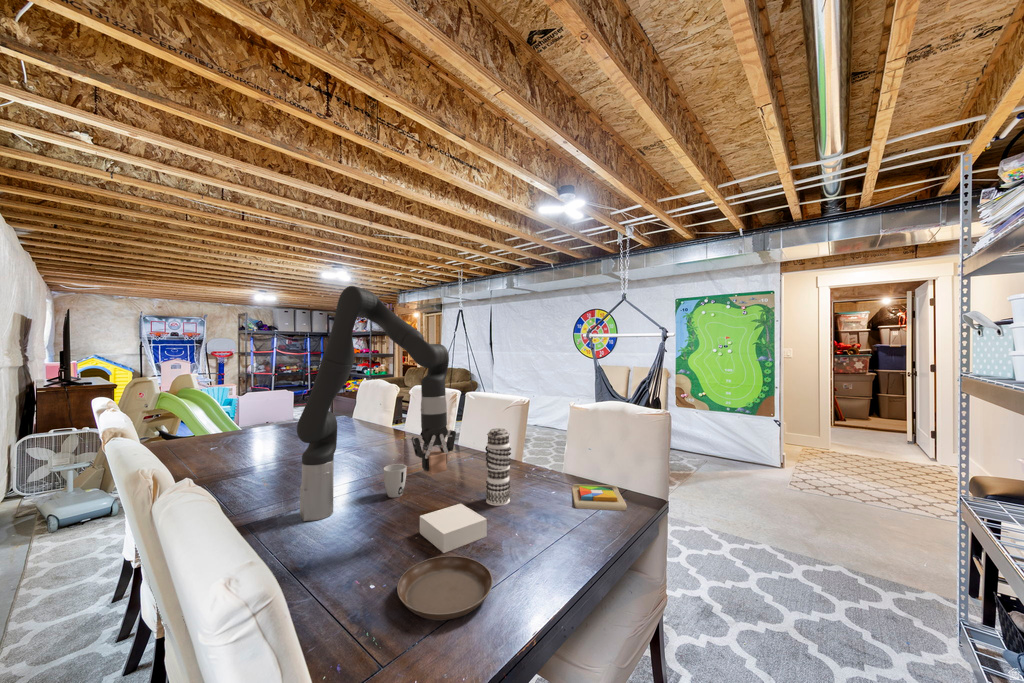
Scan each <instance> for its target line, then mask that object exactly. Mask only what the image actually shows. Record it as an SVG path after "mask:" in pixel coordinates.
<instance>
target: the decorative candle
mask: <svg viewBox="0 0 1024 683" xmlns="http://www.w3.org/2000/svg"><path fill="white" fill-rule="evenodd" d="M486 435H487V442H486V446H485V451H486V452H485V456H486V457H485V462H486V463H485V465H486V470H487V476H486V481H485V483H486V485H485V487H486V489H485V493H486V494H485V498H486V499H485V500H486V503H487V504H488V505H491V506H497V507H498V506H501V507H502V506H505V505H507V504H509V503H510V502H511V500H510V497H511V494H510V493H511V490H510V487H511V484H510V483H511V480H510V474H509V472H510V471H509V470H510V469H511V462H510V461H511V457H510V456H511V455H512V452H510V451H511V450H512V448H511V447H510V433H509V432H508V431H507V430H506V429H505V428H491V429H490V430H489V431H488V433H486Z"/></svg>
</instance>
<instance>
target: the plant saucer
mask: <svg viewBox="0 0 1024 683" xmlns="http://www.w3.org/2000/svg"><path fill="white" fill-rule="evenodd" d="M493 583H494V581H493V576H492V573H491V571H490V570H489V568H488V566H486V565H484V564H483V563H481V562H480V561H478V560H475V559H473V558H471V557H466V556H459V555H444V556H442V555H441V556H437V557H432V558H427V559H426V560H423V561H420V562H418V563H416V564H415V565H412V566H410V568H408V569H407V570H406V571H405V572H404V573H403V574H402V575H401V576H400V579H399V580H398V583H397V587H396V588H397V589H396V590H397V596H398V598H399V599H400V601H401V602H402V604H403V605H404V606H405V607H406V608H407V609H408V610H409V611H410V612H411V613H413V614H415V615H417V616H419V617H420V618H422V619H423V618H424V619H427V620H433V621H448V620H453V619H458V618H461V617H463V616H466V615H467V614H469V613H470V612H472V611H474V610H476V609H477V608H478V607H479V606H480V605H481V604H483V602H484V601H485V599H486V598H487V597H488V595H489V594H490V592H491V590H492V587H493Z"/></svg>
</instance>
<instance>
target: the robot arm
mask: <svg viewBox="0 0 1024 683" xmlns="http://www.w3.org/2000/svg"><path fill="white" fill-rule="evenodd" d="M334 313H335V314H334V318H333V319H334V320H333V324H332V326H331V331H330V335H329V338H328V340H327V343H326V347H325V350H324V352H323V354H322V358H321V360H320V363H319V368H318V370H317V374H316V377H315V379H314V383H313V385H312V389H311V392H310V395H309V397H308V399H307V402H306V404H305V406H304V408H303V410H302V411H301V414H300V417H299V419H298V420H297V425H296V435H297V437H298V438H299V440H300V441H301V442H302V443H304V444H308V446H307V448H306V449H305V451H303V453H302V455H301V485H300V486H299V516H300V518H301V520H302V521H303V522H308V521H319V520H323V519H326V518H329V517H330V516H331V515H333V513H334V470H335V469H334V466H335V465H334V464H335V463H334V460H335V458H334V457H335V453H336V451H337V443H338V421H337V418H336V416H335V414H334V413H333V412H332V411H330V408H331V405H332V403H333V401H334V400H335V398H336V397H337V396H338V394H339V393H340V392H341V391H342V388H343V387H344V386H345V385H346V383H347V381H348V379H349V377H350V376H351V375H350V374H351V371H352V369H353V365H354V362H355V357H356V356H355V354H356V353H355V347H354V346H355V345H354V340H353V333H354V329H355V328H354V327H355V324H356V322H357V319H358V318H362V319H367V320H369V321H370V322H373V323H374V324H376V325H377V326H379V327H381V329H382V330H383V331H384V333H385V334H386V335H387V336H388V338H390V340H391V341H392V342H394V343H395V344H396V345H397V346H399V347H400V348H402V349H403V350H404V351H406V352H407V354H408V355H409V357H411V359H412V360H413V361H414V362H415V363H416V364H417V365H418V366H420V367H422V368H425V369H427V372H426V375H425V376H423V377H422V379H421V381H420V382H421V388H420V389H421V390H420V391H421V399H420V422H421V423H420V426H421V432H420V434H419V435H417V436H412V437H411V442H412V446H413V450H414V455H415V457H417V458H419V459H421V468H422V470H423V469H424V470H425V471H429V458H428V457H429V454H430V452H432V449H433V447H435V446H438V449H439V451H441V452H443V453H446V460H447V461H448V454H449V453H450V452H453V451H454V448H455V447H454V446H455V441H456V435H457V431H455V430H452V429H450V430H448V427H447V425H448V412H447V411H448V408H447V407H448V406H447V397H446V395H447V394H446V379H447V374H448V369H449V362H450V354H449V352H448V349H447V347H445V346H444V345H443V344H441V343H429V342H428V341H426V340H425V337H424V335H423V334H422V333H421V332H420V331H419V330H417V329H416V328H415V327H414V326H412V325H411V324H410V323H408V322H407V321H405V320H404V319H402V318H401V317H399V316H398V315H397V314H396V313H394V312H393V311H392V310H391V309H390V308H389V307H387V306H386V304H384V302H383V301H382V300H381V299H380V298H379V297H378V296H377V294H375V293H373V292H372V291H370V290H368V289H365V288H362V287H359V286H354V285H350V286H347V287H345V288H344V289H343V290H342V291H341V292H340V295H339V298H338V301H337V304H336V310H335V312H334ZM446 437H447V440H445V439H446ZM422 441H423V444H422V446H421V443H422ZM425 471H424V472H425Z"/></svg>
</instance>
